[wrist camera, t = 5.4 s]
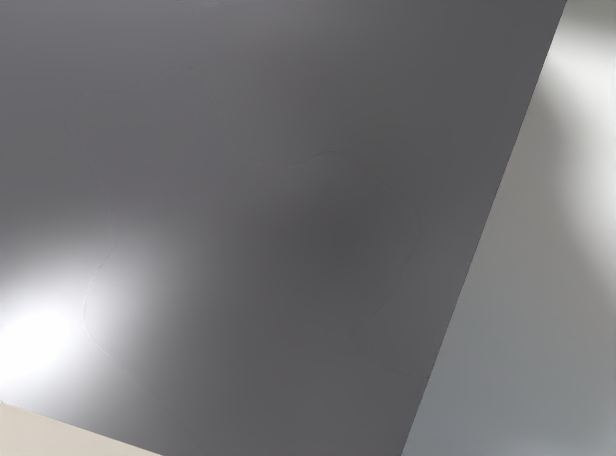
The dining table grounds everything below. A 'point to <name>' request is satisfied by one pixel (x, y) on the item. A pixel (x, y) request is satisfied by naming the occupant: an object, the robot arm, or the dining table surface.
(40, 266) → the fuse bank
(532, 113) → the dining table surface
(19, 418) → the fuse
